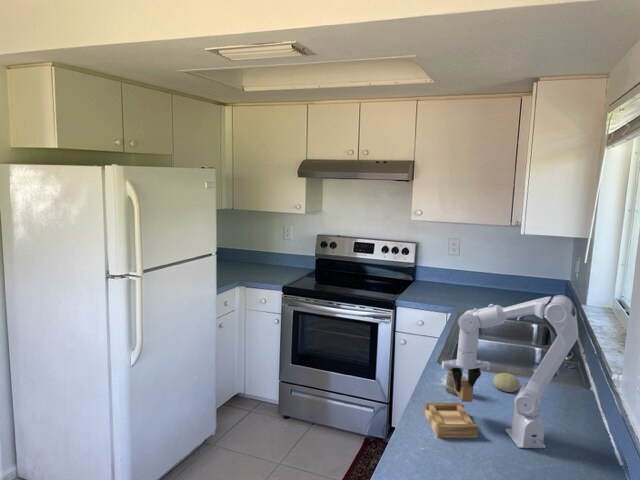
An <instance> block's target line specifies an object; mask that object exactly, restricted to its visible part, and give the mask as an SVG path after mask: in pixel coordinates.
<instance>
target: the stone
mask: <svg viewBox="0 0 640 480" xmlns="http://www.w3.org/2000/svg"><path fill="white" fill-rule="evenodd" d="M446 370H447V376H446V381H445V382H446V384H445V391H446V392H447V393H449V394H452V395H454V396H458V395H457V393H456V392H455V390H454V384H455V381H454V377H453V374H452V371H451V369H446ZM460 370H461V373H462V374H463V371H464V369H460Z"/></svg>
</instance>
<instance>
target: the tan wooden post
mask: <svg viewBox="0 0 640 480" xmlns="http://www.w3.org/2000/svg"><path fill="white" fill-rule="evenodd" d="M454 390H455V392H456V393H457V395H456V396H458V397H459V399H460V401H461V403H462V402H464V403H473V397H474V396H473V394H474V386H473V387H472V386H471V384H470V383H469V382H468V378H466V376H465V375H464V376H463V375H462V378H461V383H460V392H457V391H456V389H455V384H454Z"/></svg>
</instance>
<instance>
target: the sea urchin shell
mask: <svg viewBox="0 0 640 480" xmlns="http://www.w3.org/2000/svg"><path fill="white" fill-rule="evenodd" d="M492 383H493V386H494V387H495V388H496V389H497V390H500V391H502V392H507V393H515V392H516V391H518V390H520V387H521V382H520V380H519V379H518V378H517V377H516V376H514V374H511V373H510V372H502V373H501V372H500V373H498V374H496V375H494V377H493V379H492Z"/></svg>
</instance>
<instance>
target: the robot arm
mask: <svg viewBox="0 0 640 480" xmlns="http://www.w3.org/2000/svg"><path fill="white" fill-rule="evenodd" d="M532 315H534V316H536V317H538V318H540V319H541V320H543V319H544V318H545V319H546V320H547V321H548V323H549V324H550V325H551V326H552V327H553V329H554V331H555V333H556V335H557V336H556V338H555V339H554V340H553V342H552V344H551V345H550V346H549V349H548V351H546V353H545V355H544V357H543V358H542V359H541V361H540V363H539V364H538V366H537V368H536V370H535V371H533V374H532V375H531V377H530V378H529V379H528V381H527V382H524V383H523V384H521V385H520V388H519V389H518V390H519V391H518V392H517V395H516V396H515V397H514V399H513V409H512V410H513V411H512V421H511V426H510V427H511V428H505V432H506V433H507V434H508V436H509V437H510V439H512V441H513V442H514V444H515V445H516V446H517V447H518V448H519V449H546V445H545V444H544V440H545V439H544V438H545V433H546V432H545V431H546V427H545V425H544V422H543V421H542V419H541V408H540V406H539V404H540V402H541V400H542V398H543V394H544V391H545V390H546V388H547V387H548V385H549V384H550V382H551V381H552V379H553V377H554V376H555V374H556V373H557V371H558V369H559V368H560V367H561V365H562V363H563V362H564V360H565V359H566V358H567V357H568V356H567V355H568V354H569V353H570V351H571V349H572V348H573V346H574V344H575V343H576V341H577V340H578V337H579V327H578V319H577V309H576V307H575V305H574V303H573V301H572V300H571V298H569V297H568V296H566V295H562V294H559V295H554V296H553V297H552V296H545V297H540V298H537V299H533V300H528V301H525V302H521V303H517V304H513V305H510V306H506V307H503V306H501V305H499V304H494V303H491V304H488V306H487V307H482V308H477V307H476V308H473V309H469V310H467V311H465V312H464V313H463V314H462V315H460V317H459V318H458V322H457V323H458V324H457V325H458V326H459V334H458V343H457V344H458V345H457V353H456V359H449V360H441V368H442V369H443V370H447V369H451V371H452V374H453V377H454V381H455V389H456V391H457V392H460V383H461V378H462V376H463V375H464V374H463V372H462V373H461V370H460V369H463V370H467V380H468V382H469V383H470V384H471V386H472V387H473V388H474V386H475V385H476V382H477V381H478V379H479V378H480V377H481V375H482V372H481V370H485V371H490V369H491V363H489V361H481V360H477V358H478V357H477V355H478V347H479V346H478V344H479V333H480V332H479V331H480V329H485V328H489V327H494V326H499V325H503V324H505V322H506V320H507V319H513V318H519V317H525V316H532Z"/></svg>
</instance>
